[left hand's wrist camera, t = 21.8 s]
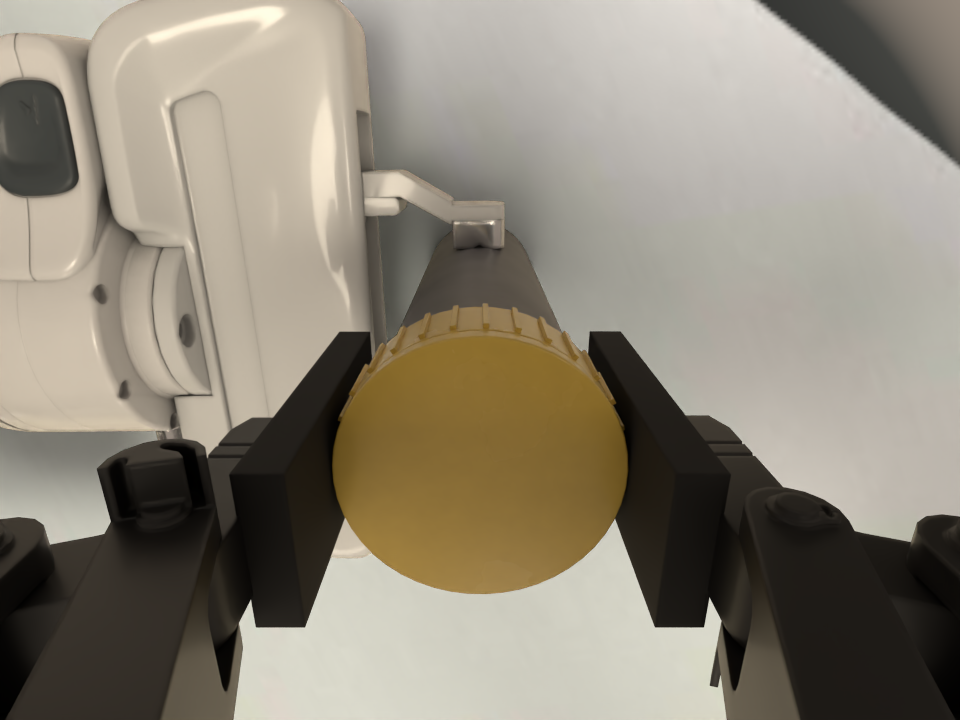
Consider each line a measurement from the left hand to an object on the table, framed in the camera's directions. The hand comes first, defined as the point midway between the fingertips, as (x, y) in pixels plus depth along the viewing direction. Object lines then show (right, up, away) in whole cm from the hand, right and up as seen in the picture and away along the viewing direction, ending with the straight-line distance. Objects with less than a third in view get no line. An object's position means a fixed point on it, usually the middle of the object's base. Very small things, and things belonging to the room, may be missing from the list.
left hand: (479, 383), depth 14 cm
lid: (0, -1, -4) cm, 4 cm away
